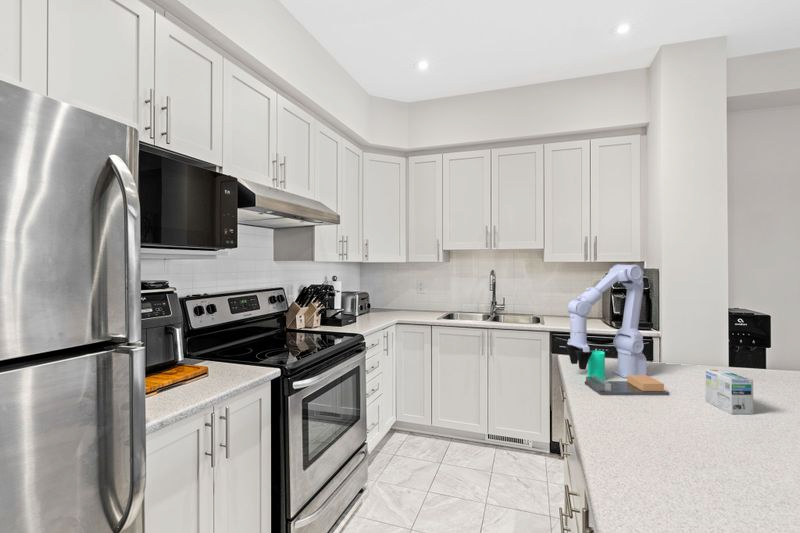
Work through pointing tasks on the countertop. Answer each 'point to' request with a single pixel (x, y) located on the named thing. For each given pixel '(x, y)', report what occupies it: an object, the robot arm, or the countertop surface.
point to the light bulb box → (729, 391)
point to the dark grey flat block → (617, 387)
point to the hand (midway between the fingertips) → (578, 366)
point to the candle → (597, 364)
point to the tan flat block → (645, 383)
